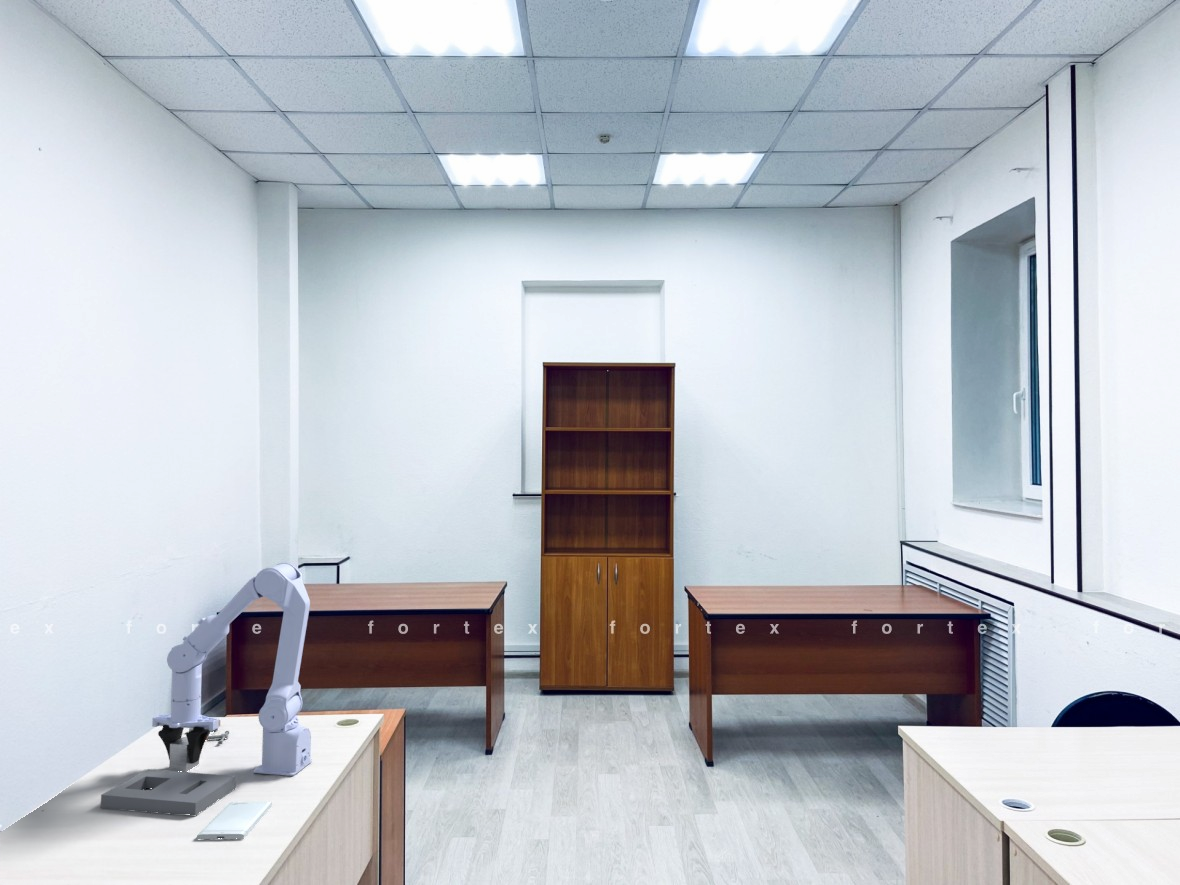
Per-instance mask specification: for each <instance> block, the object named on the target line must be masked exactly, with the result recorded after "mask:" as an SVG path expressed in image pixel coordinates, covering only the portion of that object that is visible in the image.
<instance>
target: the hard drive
mask: <svg viewBox="0 0 1180 885" xmlns="http://www.w3.org/2000/svg"><path fill="white" fill-rule="evenodd" d="M271 807H272V808H273V802H271V801H231V802H229V803H228V804H227V805H226V806H225V807H224V808H223V809H222V810H221V811H220V812H219V813H218V814H217V815H216V816H214V818H212V819H211V821H210V822H209V823H208V824H207V825H206V826H205V827H204V828H203V829H202V830H201V831H200V832H199V833H198V834H197V835H196V836H197V837H196V840H197V839H218V838H220V839H221V838H222V839H236V838H237V839H244V838H245V837H246V835H247V834H248V833H249V832H250V831H251V830H252V829H253V830H254V828H255V827H256V826H257V825H258V824H259V823H260V822H259V821H261V820H262V819H263V818H264V817H265V816H266V815H267V814H268V813H269V811H270V810H271V809H272V808H271ZM270 808H271V809H270ZM269 809H270V810H269ZM268 810H269V811H268ZM265 814H266V815H265ZM264 815H265V816H264ZM263 816H264V817H263ZM262 817H263V818H262ZM261 818H262V819H261ZM258 822H259V823H258ZM257 823H258V824H257ZM256 824H257V825H256ZM255 825H256V826H255ZM253 827H254V828H253ZM253 830H252V831H253ZM252 831H251V832H252ZM251 832H250V833H251ZM250 833H249V834H250ZM249 834H248V835H249ZM248 835H247V836H248ZM246 838H247V837H246ZM246 838H245V839H246ZM245 839H244V840H245Z"/></svg>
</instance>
